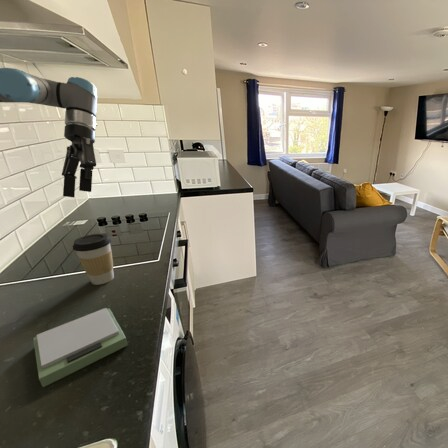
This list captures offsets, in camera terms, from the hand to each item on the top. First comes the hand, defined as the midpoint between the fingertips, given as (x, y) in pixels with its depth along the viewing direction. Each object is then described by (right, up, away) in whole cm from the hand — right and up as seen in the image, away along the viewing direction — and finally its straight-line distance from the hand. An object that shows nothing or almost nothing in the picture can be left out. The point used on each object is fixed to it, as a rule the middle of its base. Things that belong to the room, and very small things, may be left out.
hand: (76, 194), depth 81 cm
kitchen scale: (+18, -38, -19) cm, 46 cm away
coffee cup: (+3, -28, +7) cm, 29 cm away
